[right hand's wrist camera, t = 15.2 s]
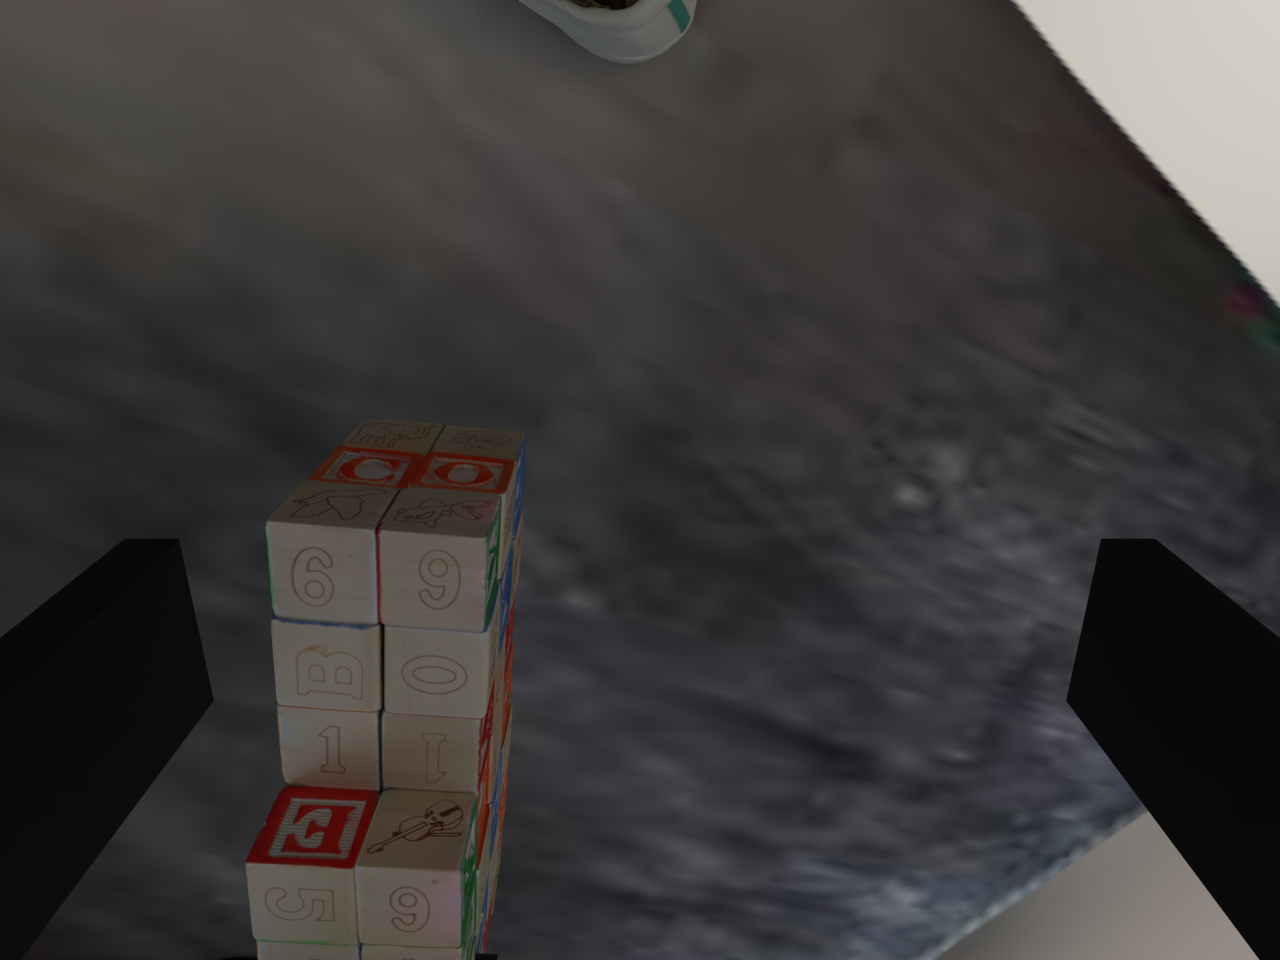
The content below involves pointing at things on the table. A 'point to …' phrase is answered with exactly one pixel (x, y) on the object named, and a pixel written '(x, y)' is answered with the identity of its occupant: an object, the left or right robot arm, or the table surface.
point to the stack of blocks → (391, 696)
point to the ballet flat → (619, 25)
